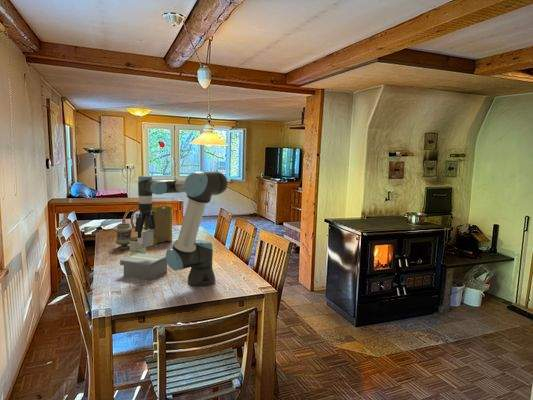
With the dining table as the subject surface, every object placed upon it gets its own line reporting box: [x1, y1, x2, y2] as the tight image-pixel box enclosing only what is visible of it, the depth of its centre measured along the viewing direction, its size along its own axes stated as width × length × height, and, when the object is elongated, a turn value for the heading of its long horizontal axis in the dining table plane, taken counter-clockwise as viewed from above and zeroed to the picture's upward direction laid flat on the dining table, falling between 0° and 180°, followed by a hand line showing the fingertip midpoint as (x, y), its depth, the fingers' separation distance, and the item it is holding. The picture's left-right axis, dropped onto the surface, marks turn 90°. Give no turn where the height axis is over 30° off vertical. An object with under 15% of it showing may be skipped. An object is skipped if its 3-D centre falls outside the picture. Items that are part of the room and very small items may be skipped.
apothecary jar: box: [114, 222, 133, 250], centre depth 264 cm, size 12×12×18 cm
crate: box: [123, 259, 168, 281], centre depth 208 cm, size 18×16×8 cm
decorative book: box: [143, 204, 173, 245], centre depth 284 cm, size 20×11×30 cm, turn 136°
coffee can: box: [129, 235, 147, 256], centre depth 238 cm, size 10×10×14 cm
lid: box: [119, 253, 166, 266], centre depth 208 cm, size 20×16×3 cm
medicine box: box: [136, 229, 154, 248], centre depth 206 cm, size 8×4×9 cm, turn 141°
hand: (145, 241), depth 206 cm, fingers closed on medicine box, 9 cm apart
